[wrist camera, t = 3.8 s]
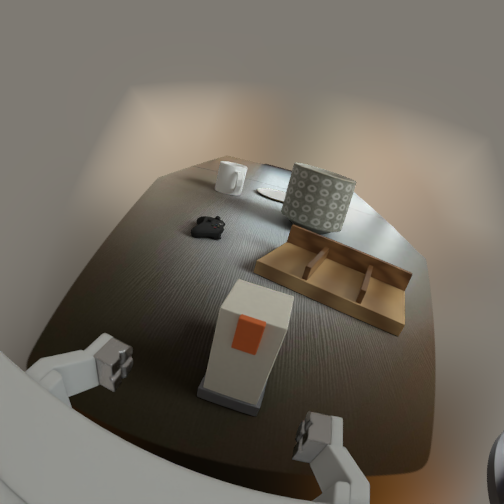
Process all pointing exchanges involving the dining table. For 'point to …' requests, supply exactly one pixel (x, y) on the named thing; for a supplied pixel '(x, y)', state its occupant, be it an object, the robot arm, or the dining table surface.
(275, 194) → the plate
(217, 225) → the game controller
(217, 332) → the block with orange tab
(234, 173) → the mug
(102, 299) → the dining table surface
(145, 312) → the dining table surface
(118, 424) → the dining table surface
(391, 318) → the divided wooden tray
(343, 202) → the planter
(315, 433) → the robot arm
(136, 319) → the dining table surface
